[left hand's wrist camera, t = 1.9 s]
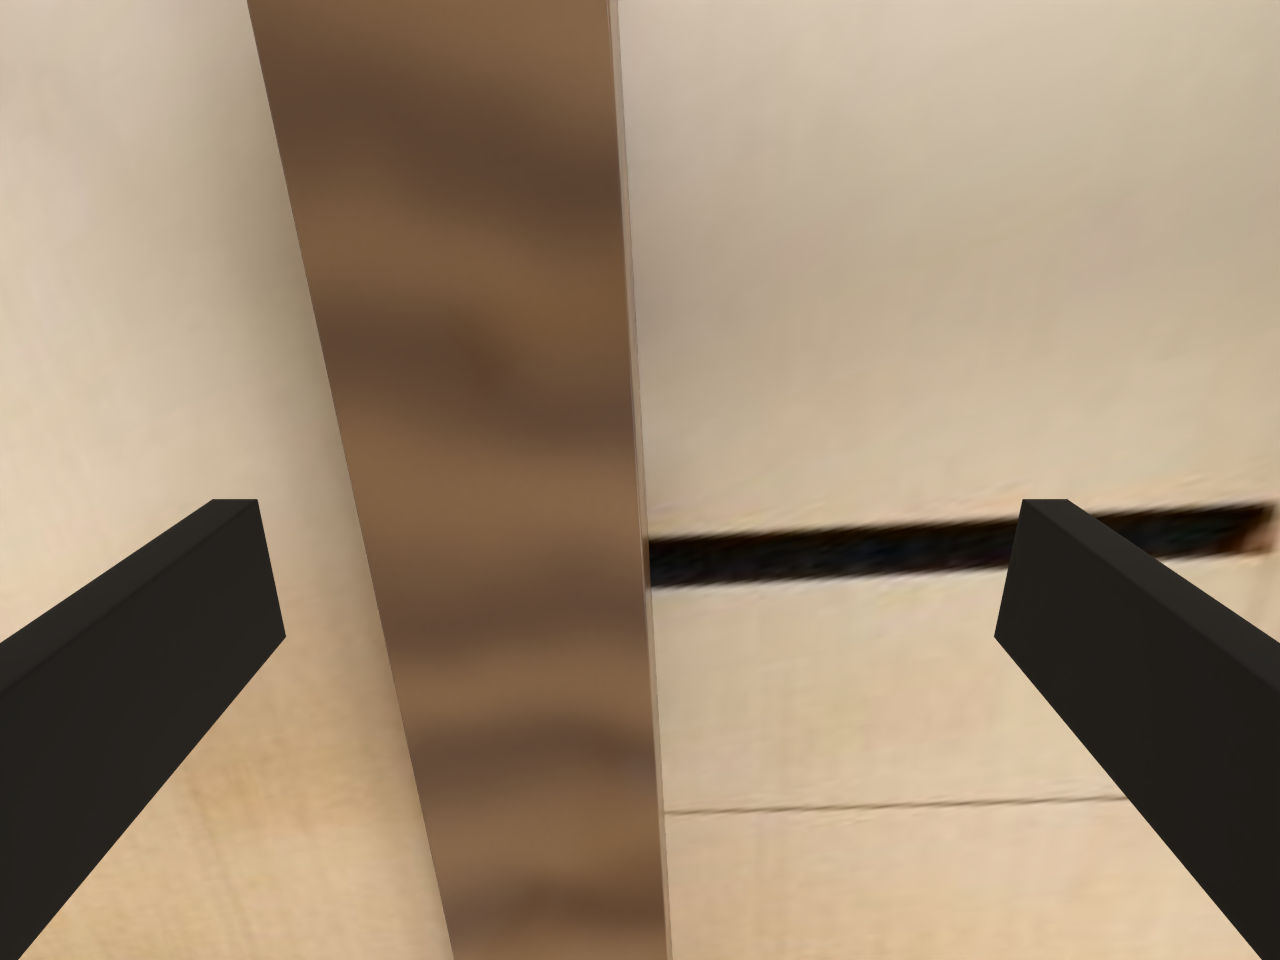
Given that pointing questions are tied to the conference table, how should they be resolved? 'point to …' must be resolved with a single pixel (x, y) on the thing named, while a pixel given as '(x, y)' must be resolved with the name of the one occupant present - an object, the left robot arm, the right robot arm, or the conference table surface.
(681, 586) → the conference table surface
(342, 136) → the slab
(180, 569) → the left robot arm
